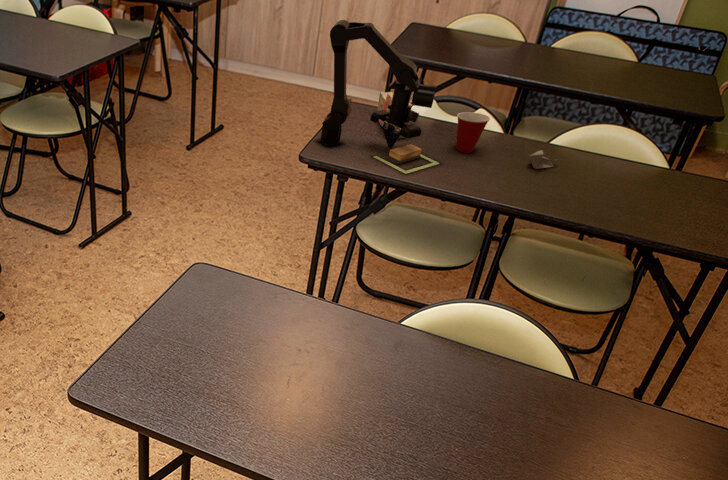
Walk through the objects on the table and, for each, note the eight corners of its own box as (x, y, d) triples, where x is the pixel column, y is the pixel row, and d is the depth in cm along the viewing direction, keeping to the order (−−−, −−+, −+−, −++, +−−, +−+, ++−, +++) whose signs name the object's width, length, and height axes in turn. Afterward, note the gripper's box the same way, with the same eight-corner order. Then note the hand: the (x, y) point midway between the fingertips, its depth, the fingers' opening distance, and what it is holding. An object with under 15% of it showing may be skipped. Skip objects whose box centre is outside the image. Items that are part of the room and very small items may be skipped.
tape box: (405, 174, 225) (405, 173, 225) (373, 157, 235) (373, 156, 235) (439, 163, 231) (439, 163, 231) (406, 147, 241) (406, 147, 241)
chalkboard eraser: (398, 165, 230) (400, 155, 228) (387, 159, 233) (390, 149, 231) (419, 158, 234) (422, 149, 232) (408, 153, 237) (411, 143, 235)
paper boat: (538, 155, 236) (566, 156, 229) (532, 173, 236) (560, 175, 230) (526, 143, 227) (555, 144, 221) (520, 163, 228) (549, 164, 221)
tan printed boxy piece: (375, 116, 264) (381, 83, 256) (391, 116, 264) (398, 83, 256) (387, 138, 247) (394, 104, 239) (404, 138, 247) (412, 104, 239)
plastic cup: (474, 143, 245) (483, 109, 238) (484, 155, 237) (495, 121, 229) (444, 142, 245) (453, 109, 237) (453, 155, 237) (463, 121, 229)
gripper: (438, 108, 224) (426, 153, 234) (397, 90, 236) (388, 134, 246) (414, 114, 220) (402, 160, 230) (373, 95, 232) (365, 140, 242)
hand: (390, 148), depth 237 cm, fingers closed
